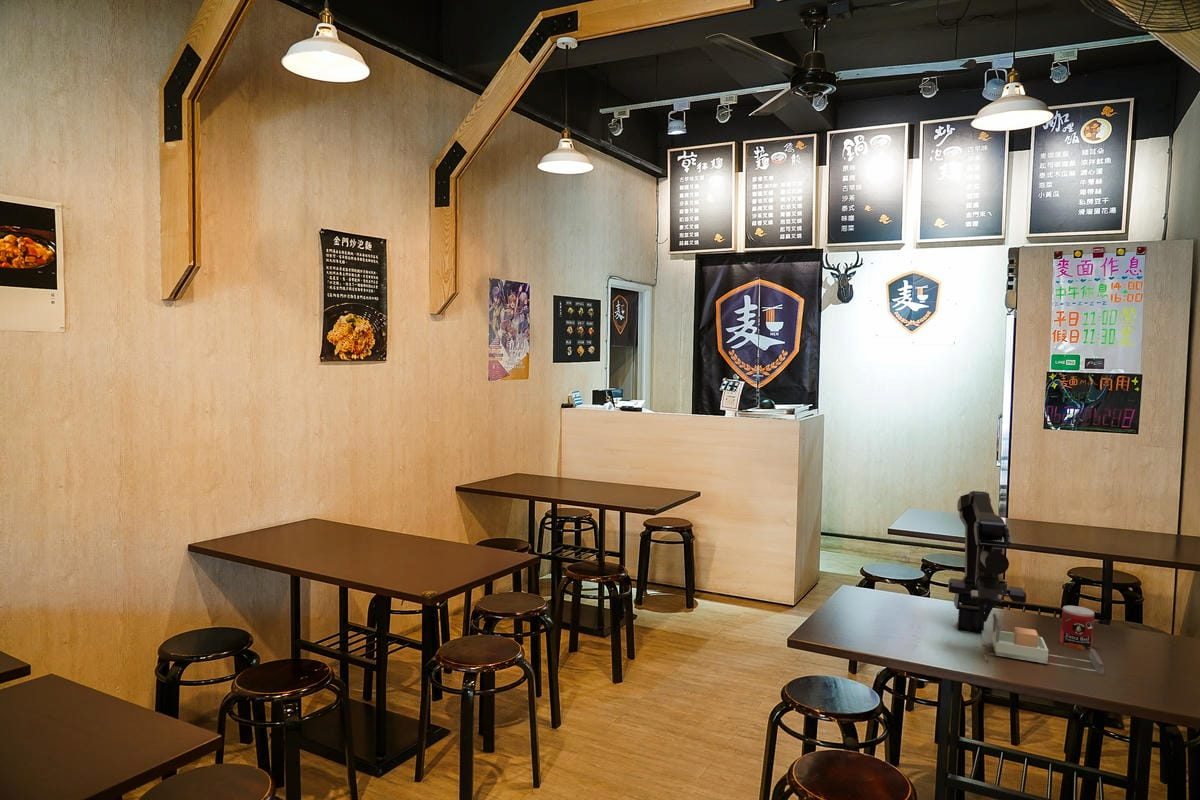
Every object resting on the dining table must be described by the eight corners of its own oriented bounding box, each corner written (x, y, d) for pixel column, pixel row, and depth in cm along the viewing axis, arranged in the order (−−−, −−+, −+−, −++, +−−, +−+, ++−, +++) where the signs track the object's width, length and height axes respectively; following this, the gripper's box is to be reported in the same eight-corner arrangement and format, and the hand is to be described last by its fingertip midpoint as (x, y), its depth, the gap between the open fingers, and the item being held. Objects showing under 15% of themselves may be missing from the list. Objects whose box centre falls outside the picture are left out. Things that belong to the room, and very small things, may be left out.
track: (985, 662, 204) (986, 648, 204) (981, 642, 219) (982, 629, 219) (1105, 682, 194) (1106, 667, 194) (1092, 660, 209) (1093, 646, 209)
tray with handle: (994, 656, 206) (996, 624, 205) (990, 643, 216) (992, 612, 215) (1047, 665, 201) (1049, 632, 201) (1041, 651, 211) (1043, 619, 211)
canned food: (1060, 649, 216) (1063, 610, 216) (1059, 641, 223) (1061, 603, 223) (1093, 655, 213) (1096, 616, 212) (1090, 646, 220) (1093, 608, 219)
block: (1015, 651, 207) (1016, 632, 206) (1013, 644, 211) (1014, 626, 211) (1036, 654, 205) (1038, 635, 204) (1034, 648, 209) (1035, 629, 209)
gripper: (951, 566, 207) (947, 624, 208) (1030, 577, 199) (1026, 636, 200) (950, 557, 217) (946, 612, 218) (1025, 567, 210) (1021, 623, 210)
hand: (984, 621), depth 211 cm, fingers closed
